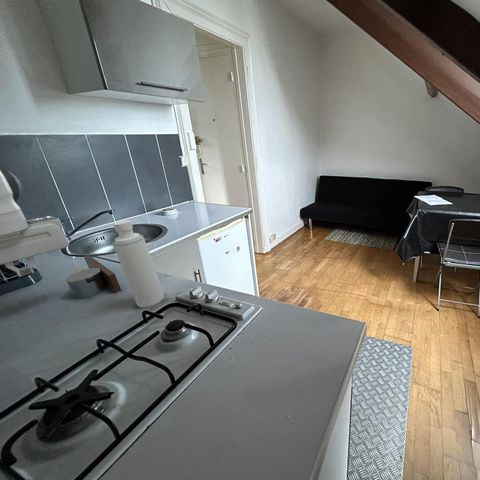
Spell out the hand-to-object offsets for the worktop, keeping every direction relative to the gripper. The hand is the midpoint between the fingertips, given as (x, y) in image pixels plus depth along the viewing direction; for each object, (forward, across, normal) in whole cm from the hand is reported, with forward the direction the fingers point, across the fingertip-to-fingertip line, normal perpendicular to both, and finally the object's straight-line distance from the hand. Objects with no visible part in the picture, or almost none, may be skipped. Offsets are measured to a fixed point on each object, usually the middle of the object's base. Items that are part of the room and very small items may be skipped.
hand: (26, 274), depth 69 cm
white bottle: (+11, -19, +22) cm, 31 cm away
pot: (+11, -10, 0) cm, 15 cm away
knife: (+11, -12, -13) cm, 21 cm away
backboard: (+11, -15, -5) cm, 19 cm away
